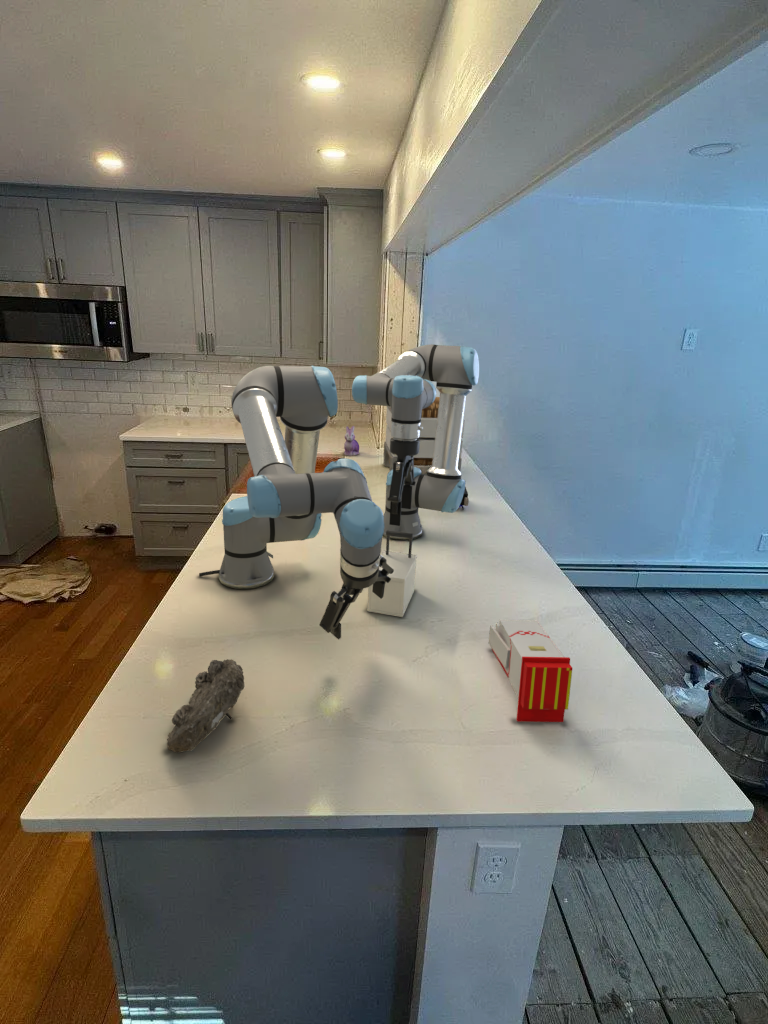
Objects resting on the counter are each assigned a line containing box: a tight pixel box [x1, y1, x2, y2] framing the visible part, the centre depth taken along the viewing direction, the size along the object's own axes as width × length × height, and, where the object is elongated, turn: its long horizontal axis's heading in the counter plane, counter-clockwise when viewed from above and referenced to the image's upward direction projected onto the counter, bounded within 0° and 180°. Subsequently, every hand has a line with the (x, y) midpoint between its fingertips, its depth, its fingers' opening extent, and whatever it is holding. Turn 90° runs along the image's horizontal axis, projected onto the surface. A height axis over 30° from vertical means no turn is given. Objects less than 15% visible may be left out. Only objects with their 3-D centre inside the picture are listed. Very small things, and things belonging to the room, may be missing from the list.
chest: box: [366, 560, 417, 618], centre depth 153 cm, size 15×10×10 cm, turn 166°
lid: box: [379, 530, 418, 583], centre depth 150 cm, size 16×10×8 cm, turn 166°
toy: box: [488, 619, 573, 723], centre depth 122 cm, size 12×13×30 cm
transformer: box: [383, 396, 465, 472], centre depth 268 cm, size 34×33×41 cm
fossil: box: [166, 658, 245, 754], centre depth 106 cm, size 22×10×15 cm
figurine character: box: [459, 486, 470, 511], centre depth 230 cm, size 7×8×15 cm
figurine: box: [343, 425, 360, 456], centre depth 302 cm, size 9×10×15 cm
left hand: (357, 614), depth 125 cm, fingers open, 13 cm apart
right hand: (400, 516), depth 152 cm, fingers open, 13 cm apart
